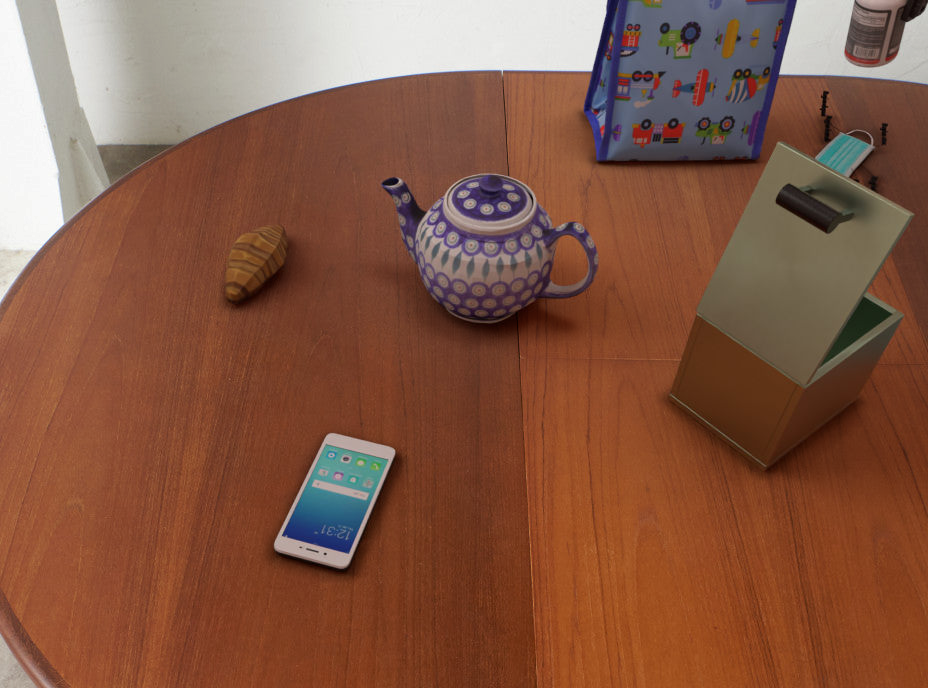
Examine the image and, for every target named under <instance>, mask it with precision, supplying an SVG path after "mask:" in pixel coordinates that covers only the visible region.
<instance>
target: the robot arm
mask: <svg viewBox="0 0 928 688" xmlns="http://www.w3.org/2000/svg"><path fill="white" fill-rule="evenodd" d="M927 6H928V0H908V2H907V4H906V7H905V9H904V11H903V14H902V16H901V20H902V21H905V22H906V23H909V22H911V21H913V20H915V19H916V18H917V17H919V16H921V15H922V14H923V13H924V12H925V10H926V8H927Z"/></svg>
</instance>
